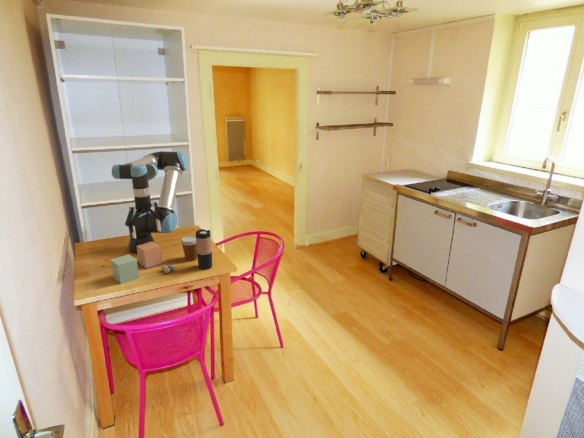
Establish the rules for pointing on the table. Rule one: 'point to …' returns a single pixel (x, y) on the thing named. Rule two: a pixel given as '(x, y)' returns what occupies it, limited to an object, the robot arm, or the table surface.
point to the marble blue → (171, 267)
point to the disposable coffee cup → (189, 248)
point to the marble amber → (167, 270)
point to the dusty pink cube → (149, 254)
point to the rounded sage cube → (124, 268)
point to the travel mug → (204, 249)
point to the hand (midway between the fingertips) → (147, 234)
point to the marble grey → (163, 268)
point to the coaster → (150, 267)
